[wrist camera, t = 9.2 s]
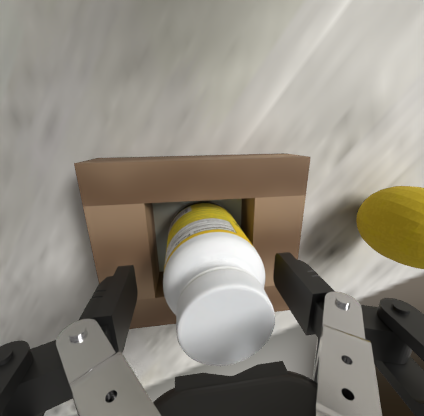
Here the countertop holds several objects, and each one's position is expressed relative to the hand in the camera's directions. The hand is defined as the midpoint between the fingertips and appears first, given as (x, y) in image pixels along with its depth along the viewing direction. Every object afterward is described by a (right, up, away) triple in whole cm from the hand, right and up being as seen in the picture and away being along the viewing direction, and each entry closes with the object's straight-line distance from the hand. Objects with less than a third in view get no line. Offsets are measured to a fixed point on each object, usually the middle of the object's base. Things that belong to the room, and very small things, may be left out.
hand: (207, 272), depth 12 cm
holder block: (-1, +2, +6) cm, 6 cm away
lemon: (+14, +4, +8) cm, 16 cm away
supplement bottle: (-1, +2, +6) cm, 6 cm away
